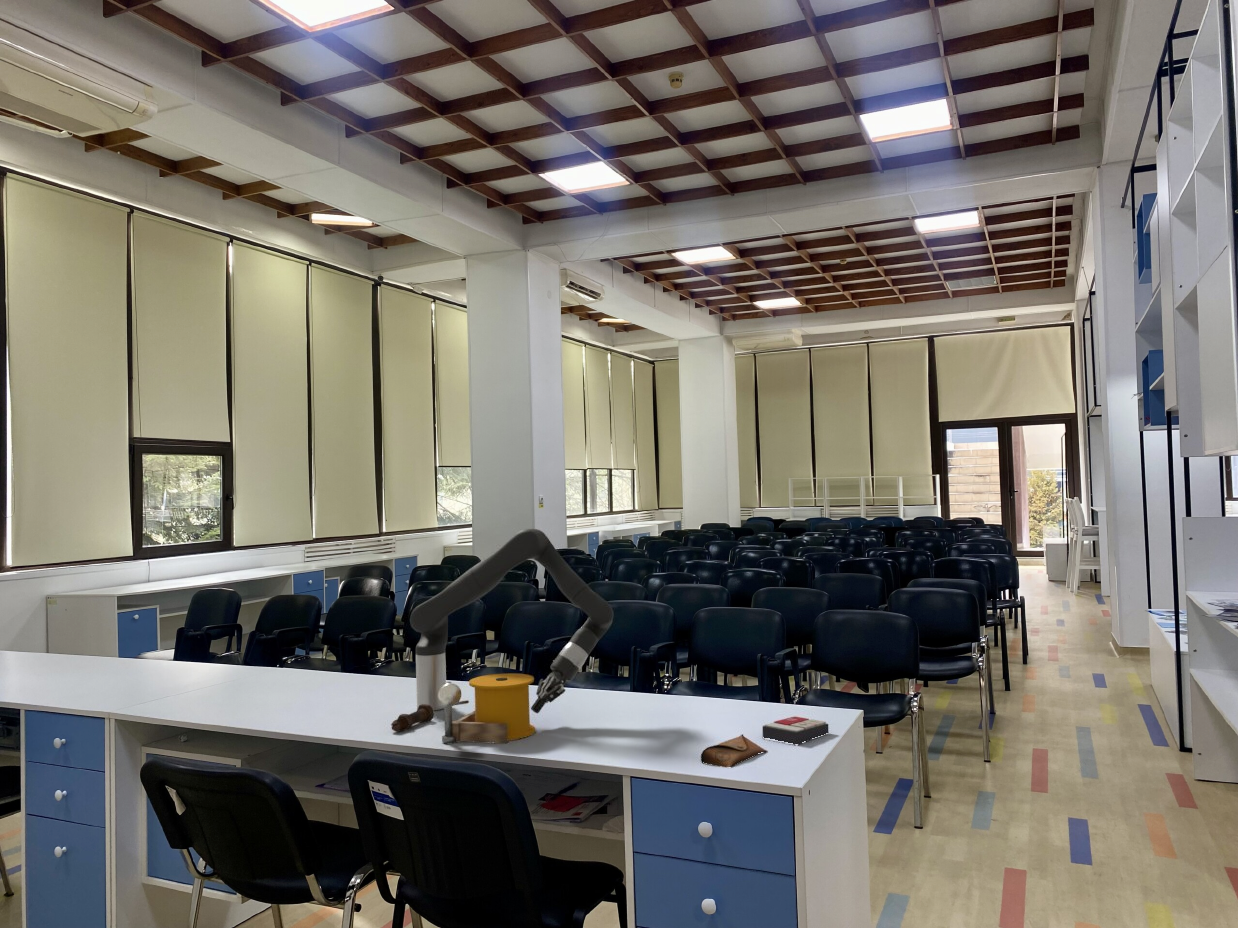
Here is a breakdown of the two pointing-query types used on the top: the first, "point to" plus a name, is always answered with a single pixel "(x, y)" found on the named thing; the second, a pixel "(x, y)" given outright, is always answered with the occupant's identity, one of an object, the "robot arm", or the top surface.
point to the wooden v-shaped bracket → (478, 730)
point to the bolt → (413, 718)
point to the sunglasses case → (730, 752)
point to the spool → (504, 702)
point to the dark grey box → (795, 729)
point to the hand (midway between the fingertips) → (534, 711)
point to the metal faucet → (449, 707)
